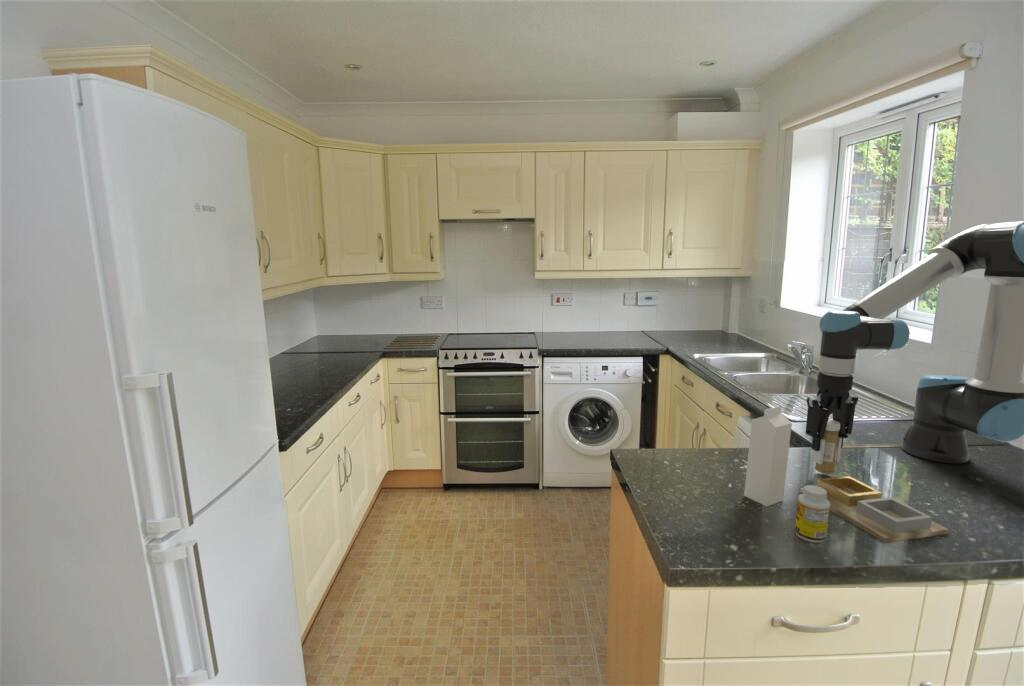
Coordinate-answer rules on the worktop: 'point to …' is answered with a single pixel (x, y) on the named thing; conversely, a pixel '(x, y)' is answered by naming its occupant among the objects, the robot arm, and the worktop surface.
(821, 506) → the supplement bottle
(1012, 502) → the worktop surface
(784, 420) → the milk
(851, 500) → the brass socket collar
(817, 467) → the sprinkles bottle
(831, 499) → the birch socket board
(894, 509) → the grey socket collar
